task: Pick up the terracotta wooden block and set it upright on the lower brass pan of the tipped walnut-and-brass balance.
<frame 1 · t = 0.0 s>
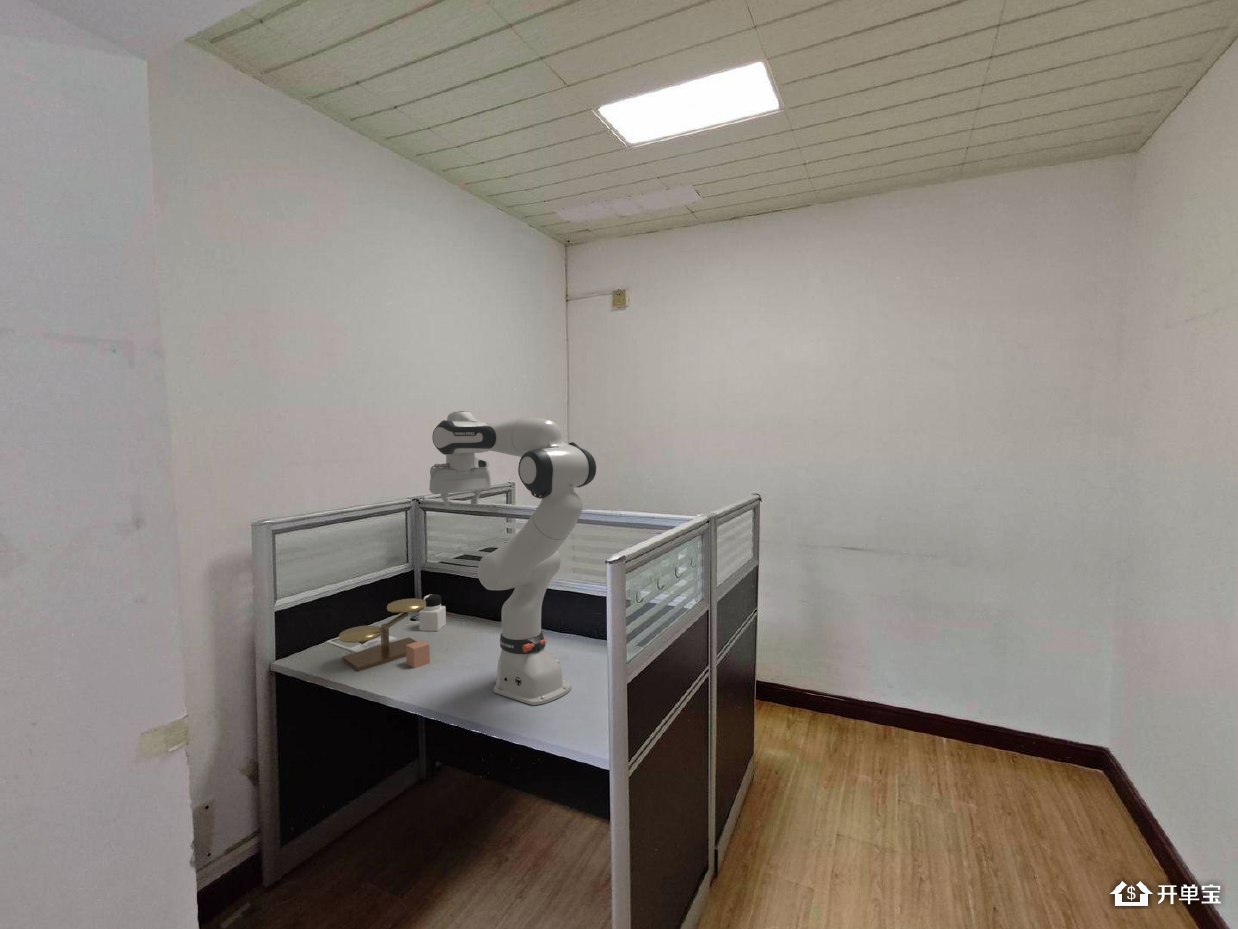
hand: (461, 506, 174), 48 cm above the table, fingers open, 8 cm apart
block: (418, 663, 169), on the table
photo frame: (362, 642, 187), on the table
medicine bottle: (432, 628, 200), on the table
balance: (385, 655, 175), on the table
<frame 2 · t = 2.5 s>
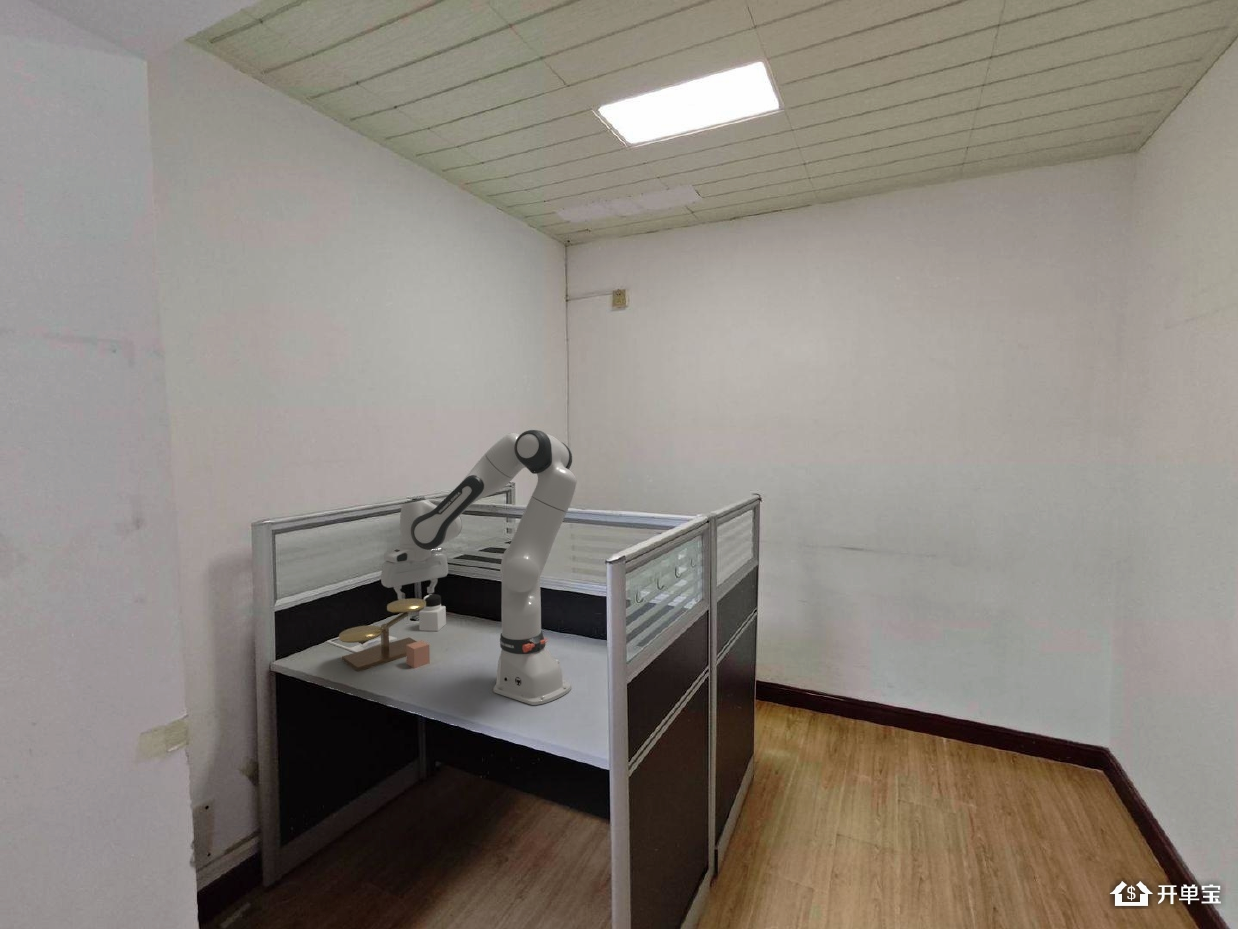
hand: (416, 596, 168), 21 cm above the table, fingers open, 8 cm apart
nothing on the table moved.
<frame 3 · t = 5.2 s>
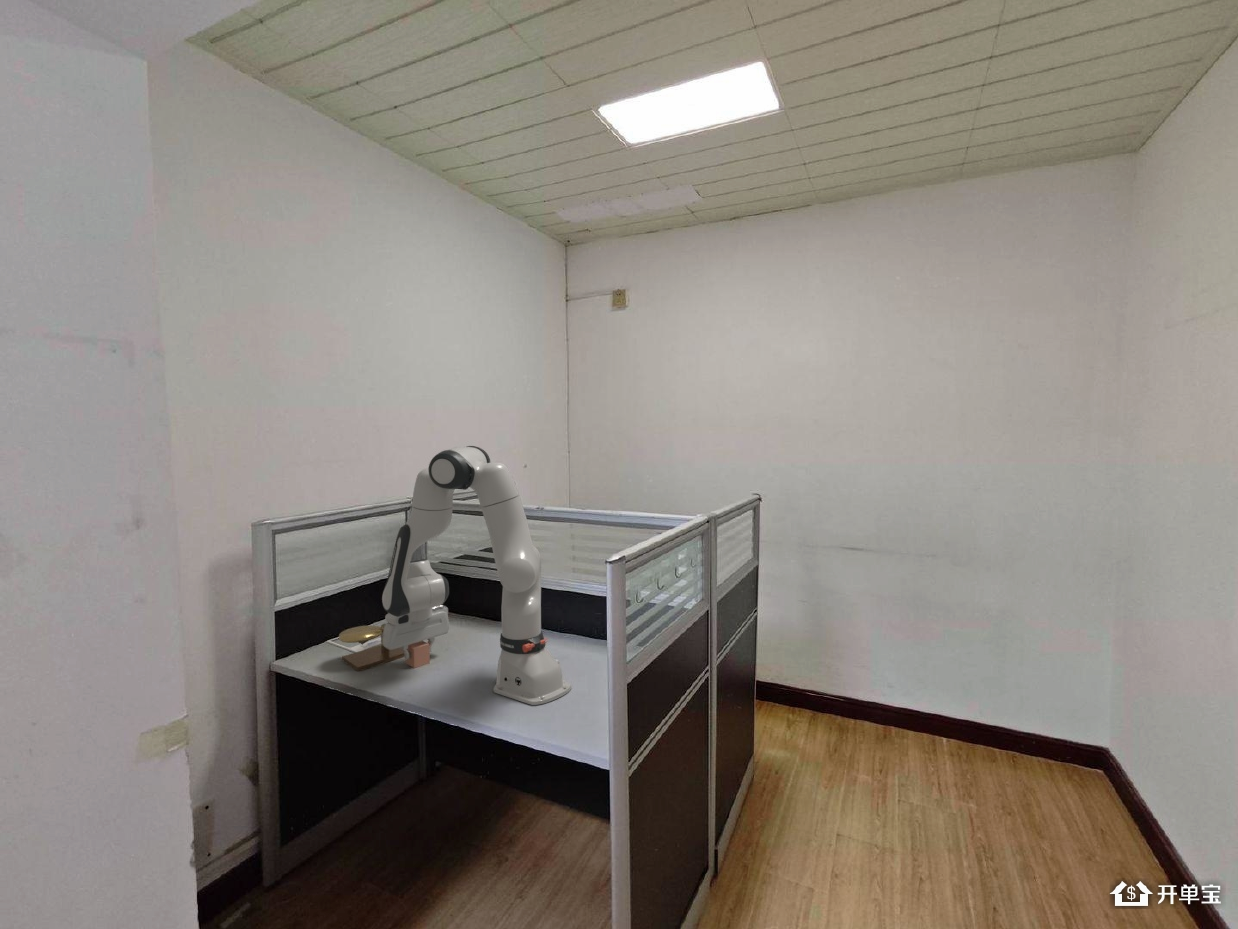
hand: (418, 655, 168), 3 cm above the table, fingers closed on block, 5 cm apart
block: (418, 663, 169), on the table, touching gripper
everything else where it was.
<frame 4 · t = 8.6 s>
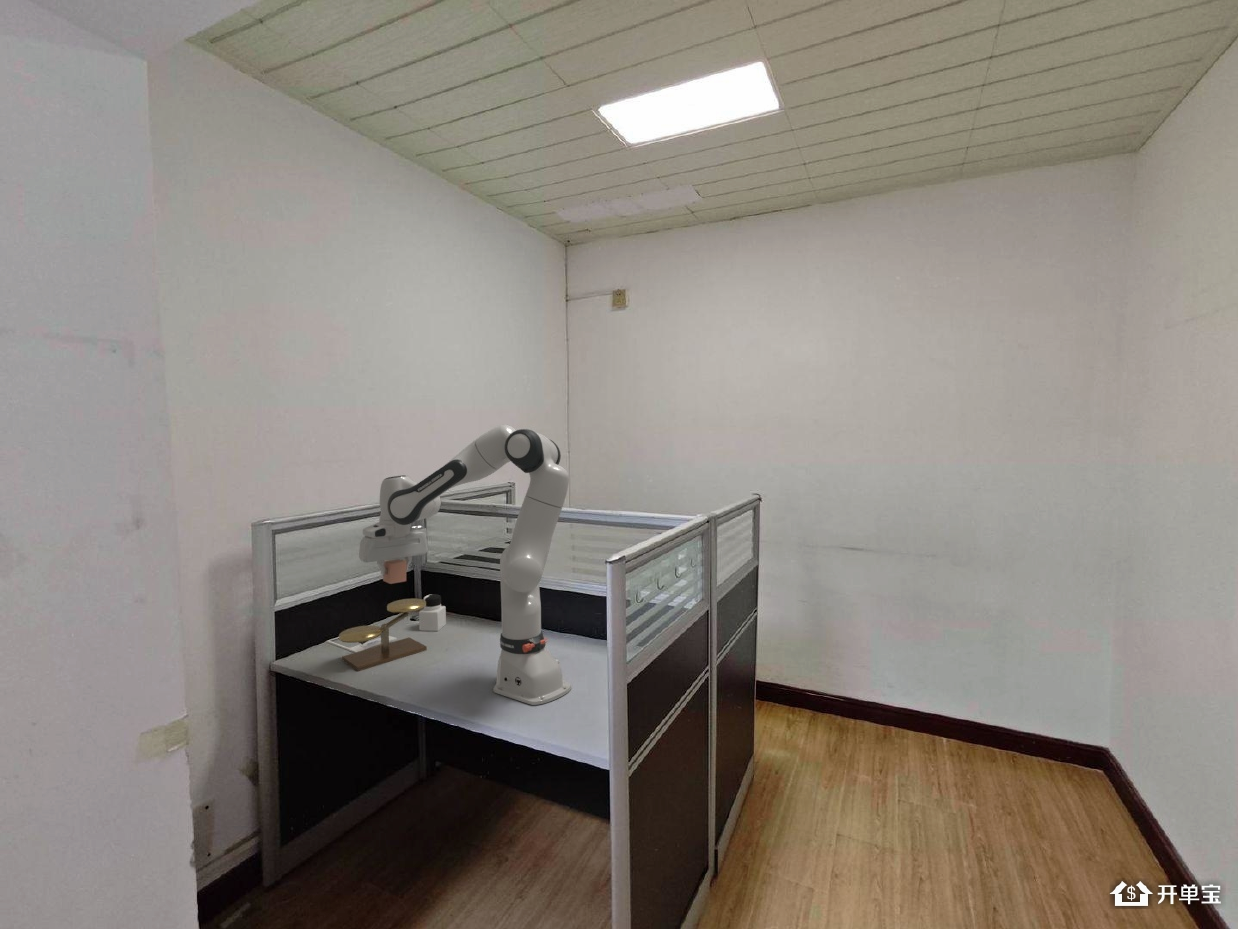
hand: (394, 572, 168), 28 cm above the table, fingers closed on block, 5 cm apart
block: (394, 581, 168), point 26 cm above the table, touching gripper
everything else where it was.
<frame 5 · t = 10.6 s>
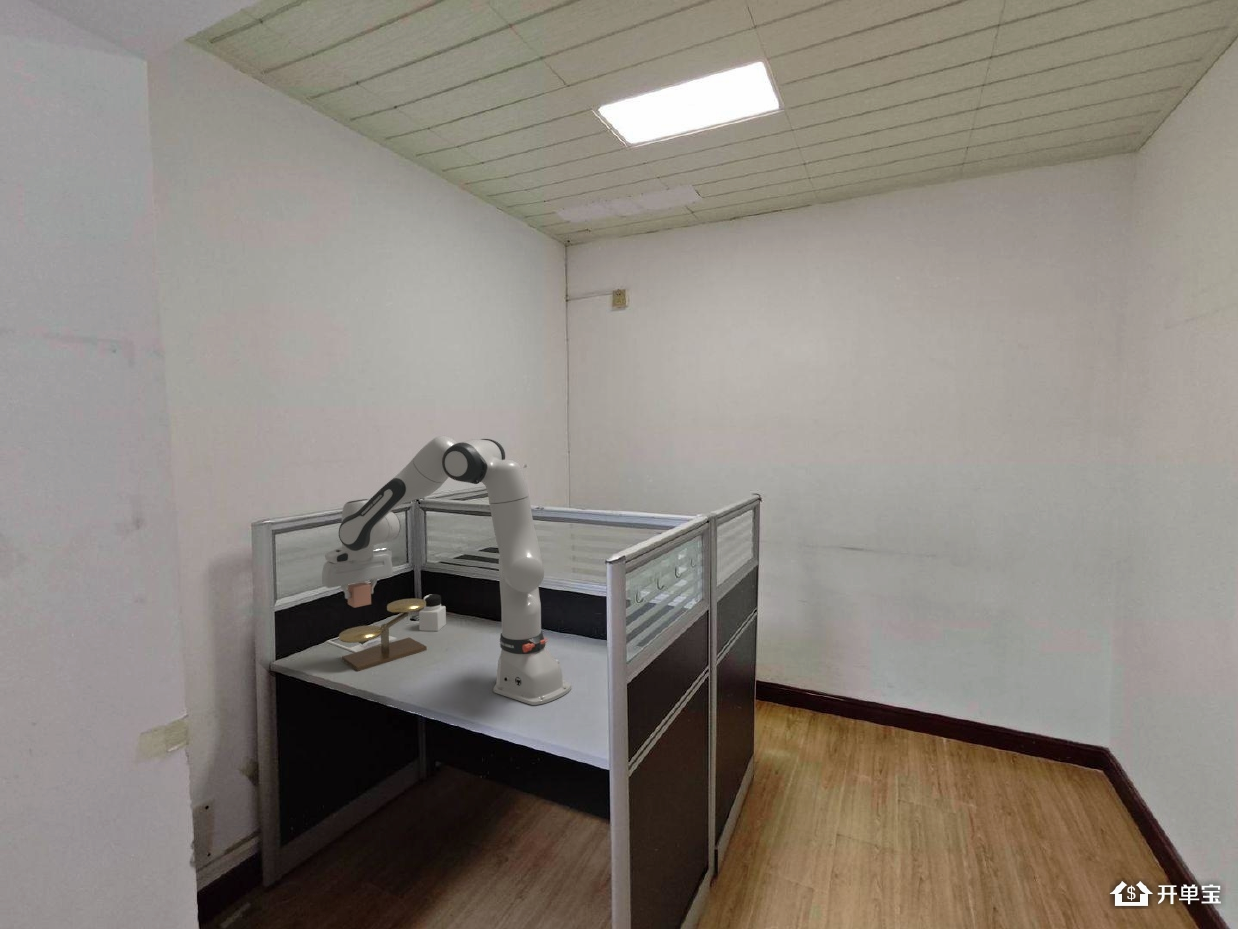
hand: (359, 596, 168), 21 cm above the table, fingers closed on block, 5 cm apart
block: (359, 604, 169), point 18 cm above the table, touching gripper
everything else where it was.
when the fingers open (14 cm above the table, at t = 12.3 s): block drops 1 cm, resting on balance.
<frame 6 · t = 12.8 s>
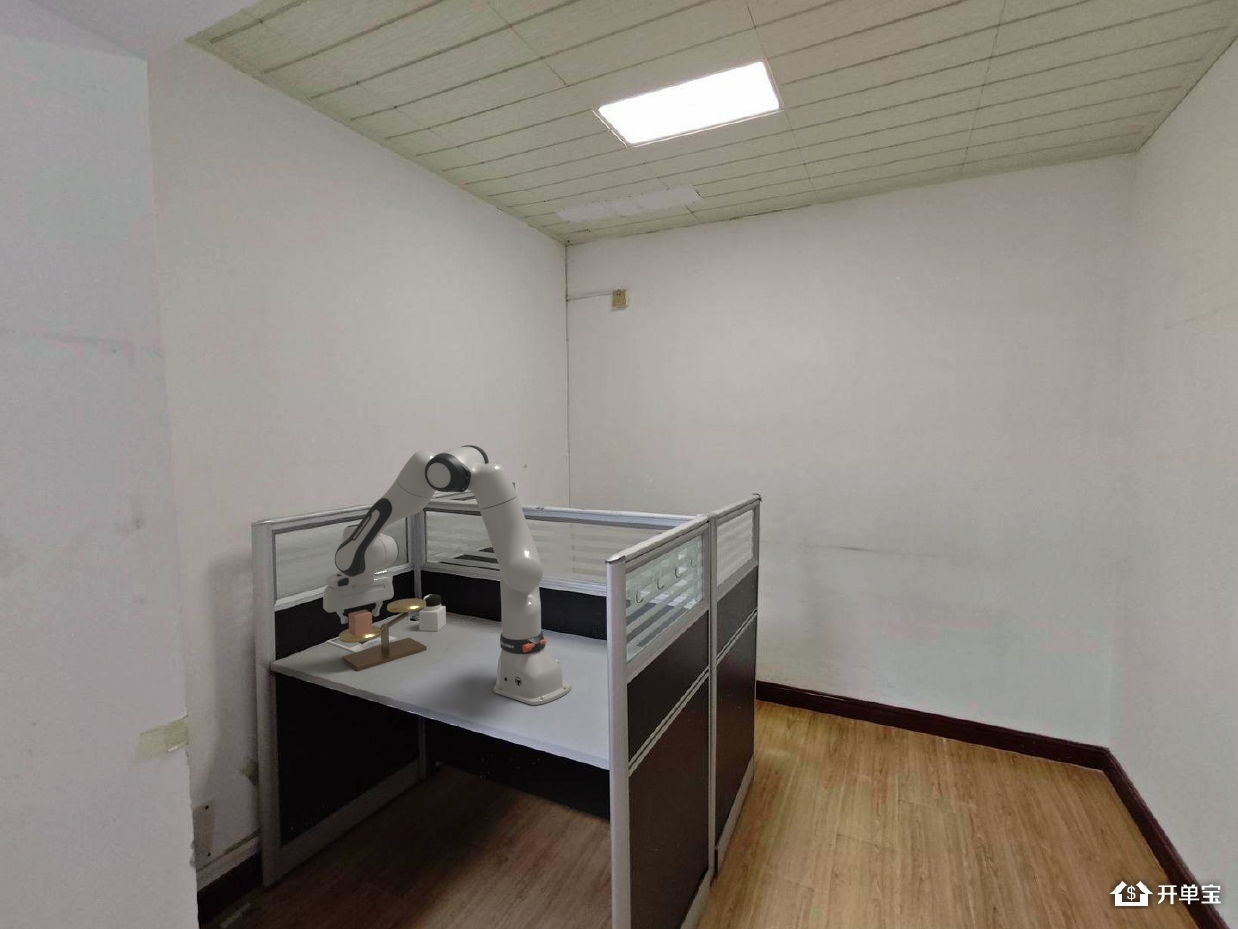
hand: (360, 619, 169), 14 cm above the table, fingers open, 8 cm apart
block: (360, 632, 169), point 9 cm above the table, touching balance
everything else where it was.
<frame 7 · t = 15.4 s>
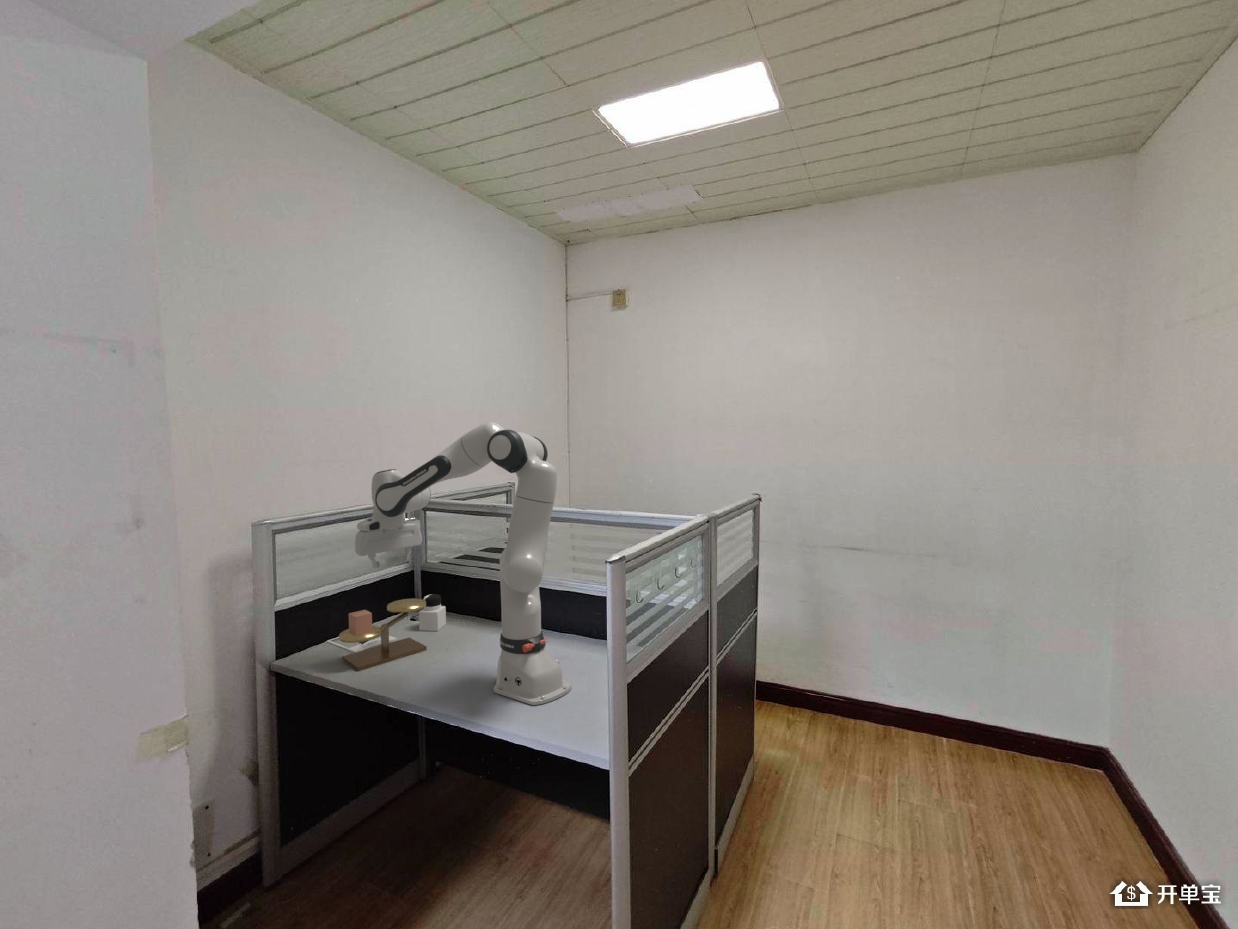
hand: (391, 564, 172), 30 cm above the table, fingers open, 8 cm apart
nothing on the table moved.
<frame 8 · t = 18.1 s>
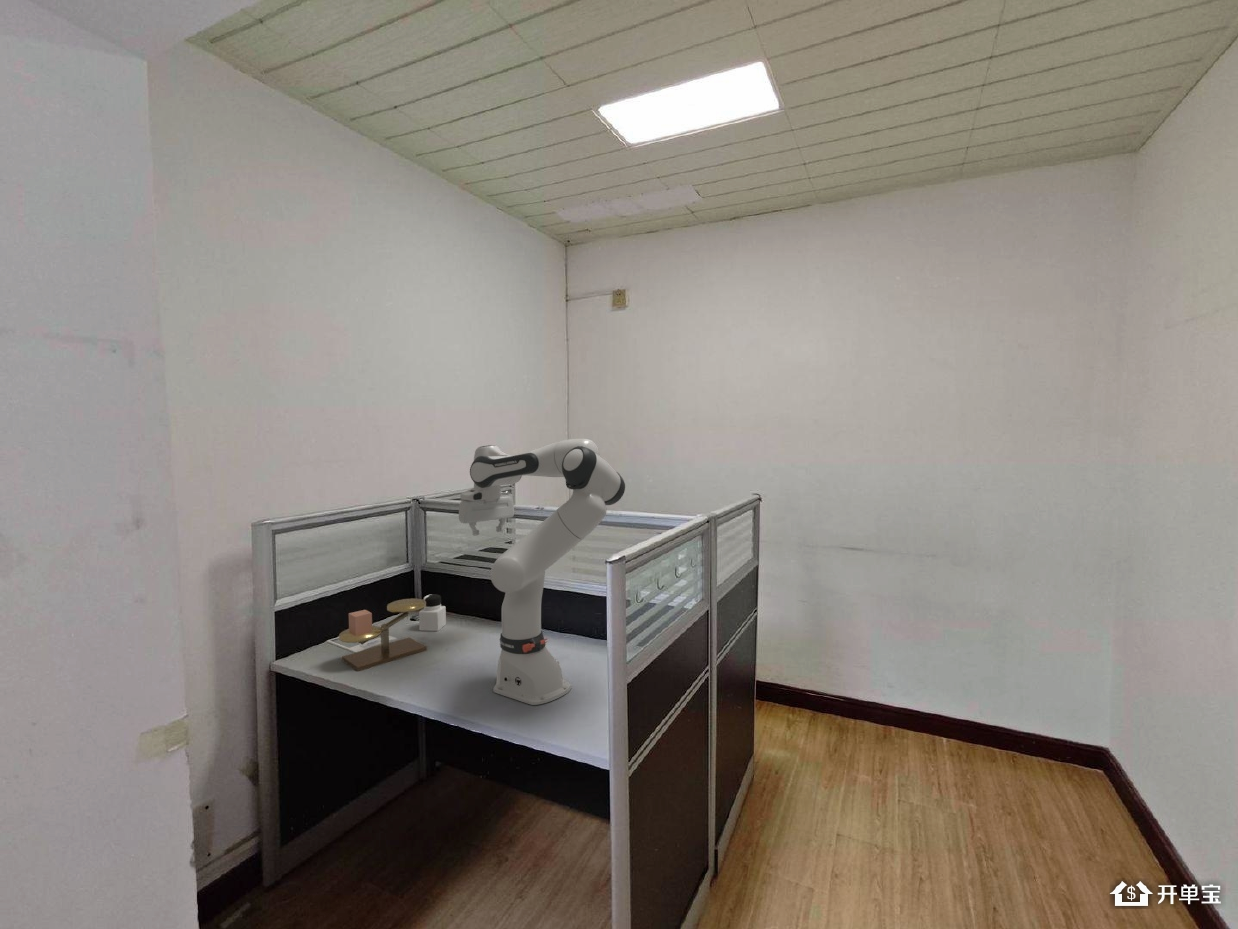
hand: (487, 533, 186), 37 cm above the table, fingers open, 8 cm apart
nothing on the table moved.
at the end: block inside the target area on the balance (0.0 cm from its centre), point 9.5 cm above the balance's base; block tilted 0°; the gripper is holding nothing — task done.
